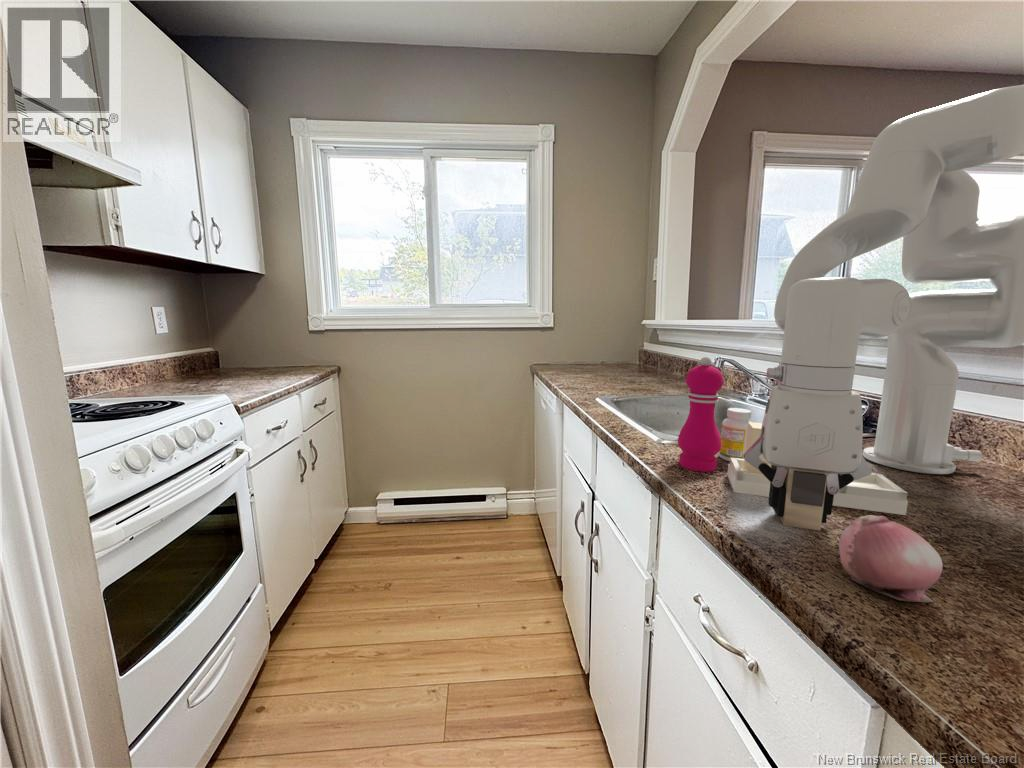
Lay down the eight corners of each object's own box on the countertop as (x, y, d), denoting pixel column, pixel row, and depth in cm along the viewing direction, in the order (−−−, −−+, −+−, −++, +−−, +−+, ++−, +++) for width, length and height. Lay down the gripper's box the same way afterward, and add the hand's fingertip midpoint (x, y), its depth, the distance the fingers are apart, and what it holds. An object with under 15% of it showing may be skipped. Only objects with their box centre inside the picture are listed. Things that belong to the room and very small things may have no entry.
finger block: (776, 511, 57) (782, 456, 56) (810, 516, 56) (817, 460, 55) (785, 527, 53) (792, 468, 52) (822, 533, 51) (830, 472, 50)
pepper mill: (724, 474, 71) (735, 359, 68) (680, 471, 72) (688, 358, 69) (713, 460, 78) (722, 355, 75) (673, 458, 79) (680, 354, 76)
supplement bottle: (731, 464, 76) (735, 413, 75) (712, 454, 82) (717, 407, 80) (757, 462, 77) (762, 412, 76) (737, 453, 82) (741, 406, 81)
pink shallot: (830, 566, 46) (846, 504, 47) (925, 602, 42) (942, 533, 42) (833, 578, 40) (851, 506, 40) (945, 622, 35) (965, 541, 35)
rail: (879, 493, 64) (888, 430, 62) (905, 515, 56) (917, 445, 55) (727, 475, 71) (732, 418, 69) (734, 492, 64) (740, 429, 62)
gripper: (744, 379, 51) (731, 517, 54) (915, 387, 45) (890, 541, 48) (735, 372, 58) (723, 494, 61) (882, 378, 52) (862, 513, 55)
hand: (797, 514), depth 55 cm, fingers closed on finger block, 4 cm apart
